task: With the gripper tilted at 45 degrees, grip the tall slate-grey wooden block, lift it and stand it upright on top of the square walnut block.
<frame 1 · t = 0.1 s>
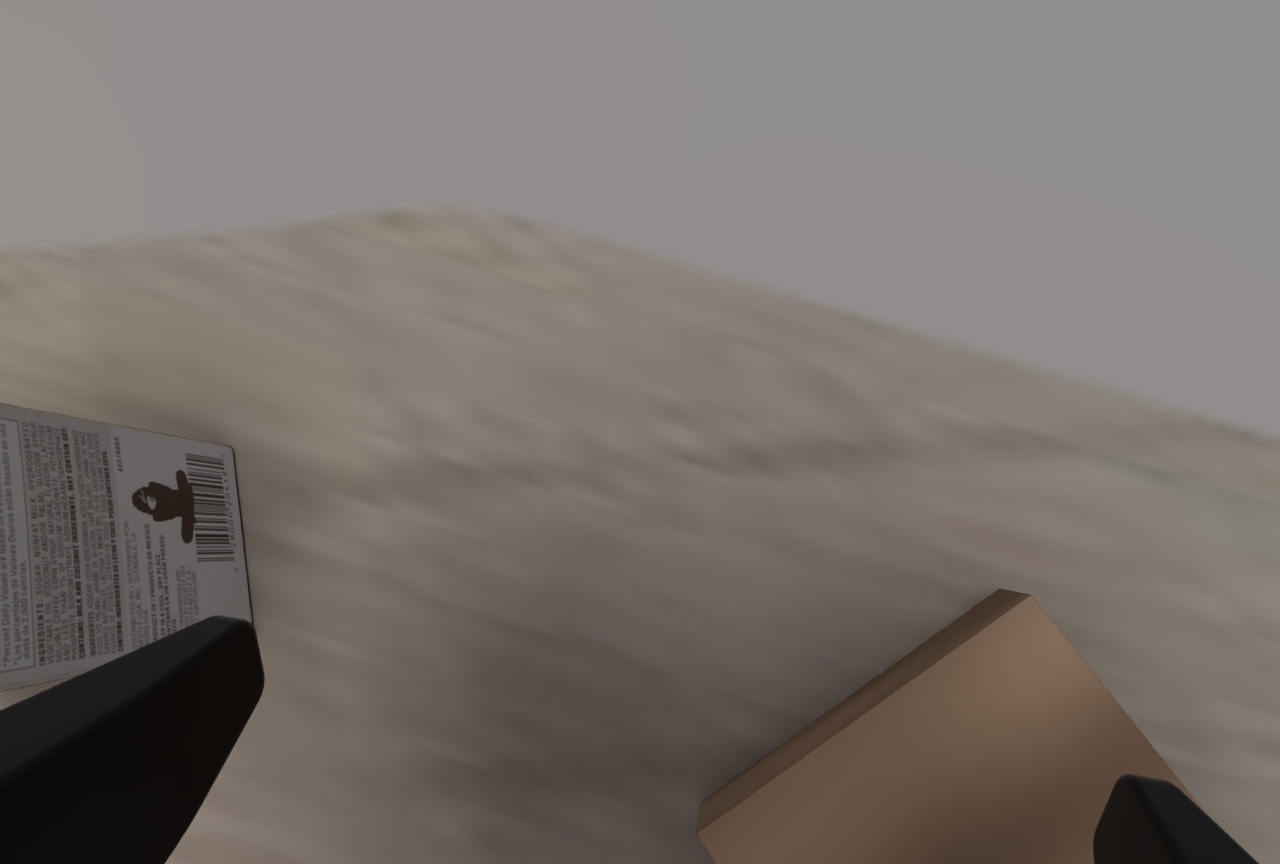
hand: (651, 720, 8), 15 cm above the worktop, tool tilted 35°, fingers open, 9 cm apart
walnut block: (964, 852, 22), on the worktop
coffee box: (120, 562, 26), on the worktop
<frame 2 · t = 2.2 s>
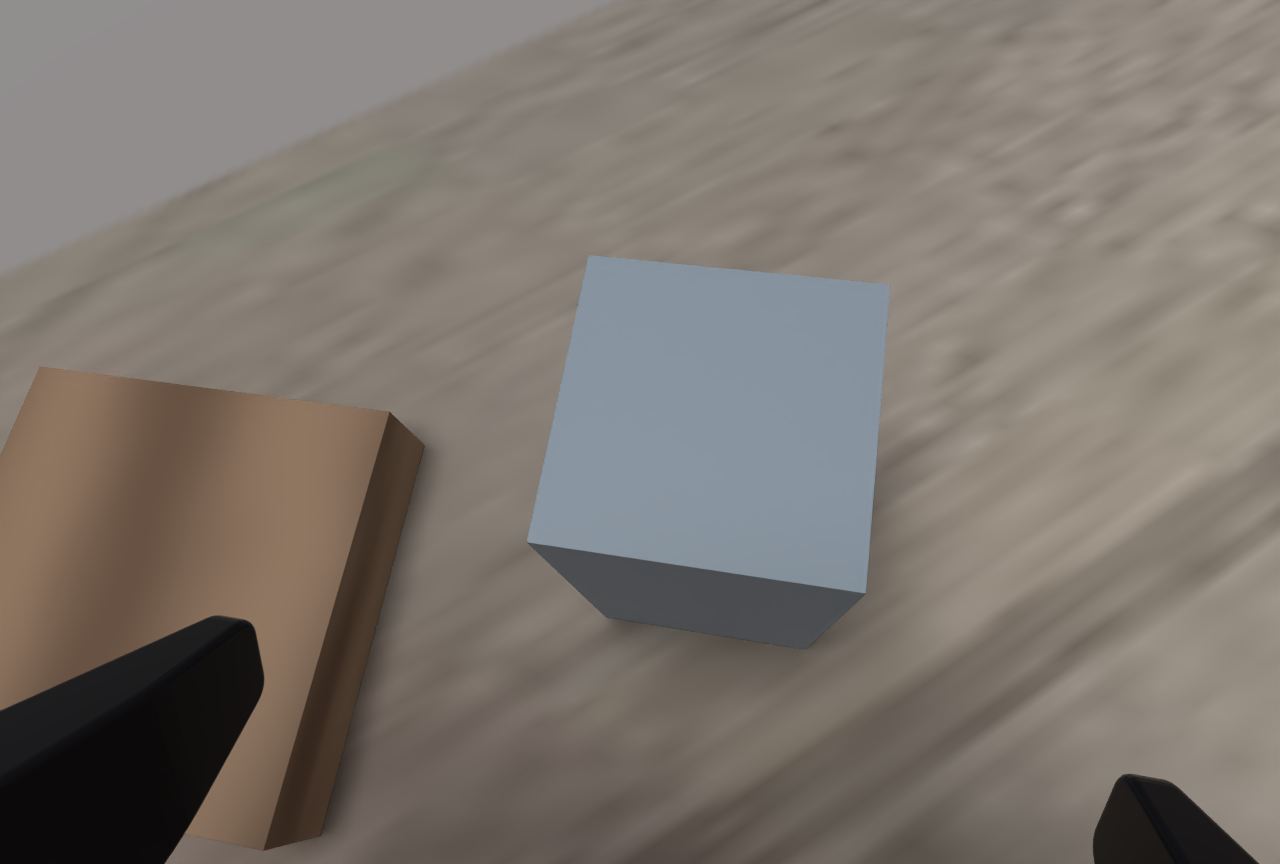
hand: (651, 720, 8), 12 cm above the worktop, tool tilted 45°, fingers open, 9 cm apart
walnut block: (211, 598, 22), on the worktop
slate block: (717, 535, 21), on the worktop
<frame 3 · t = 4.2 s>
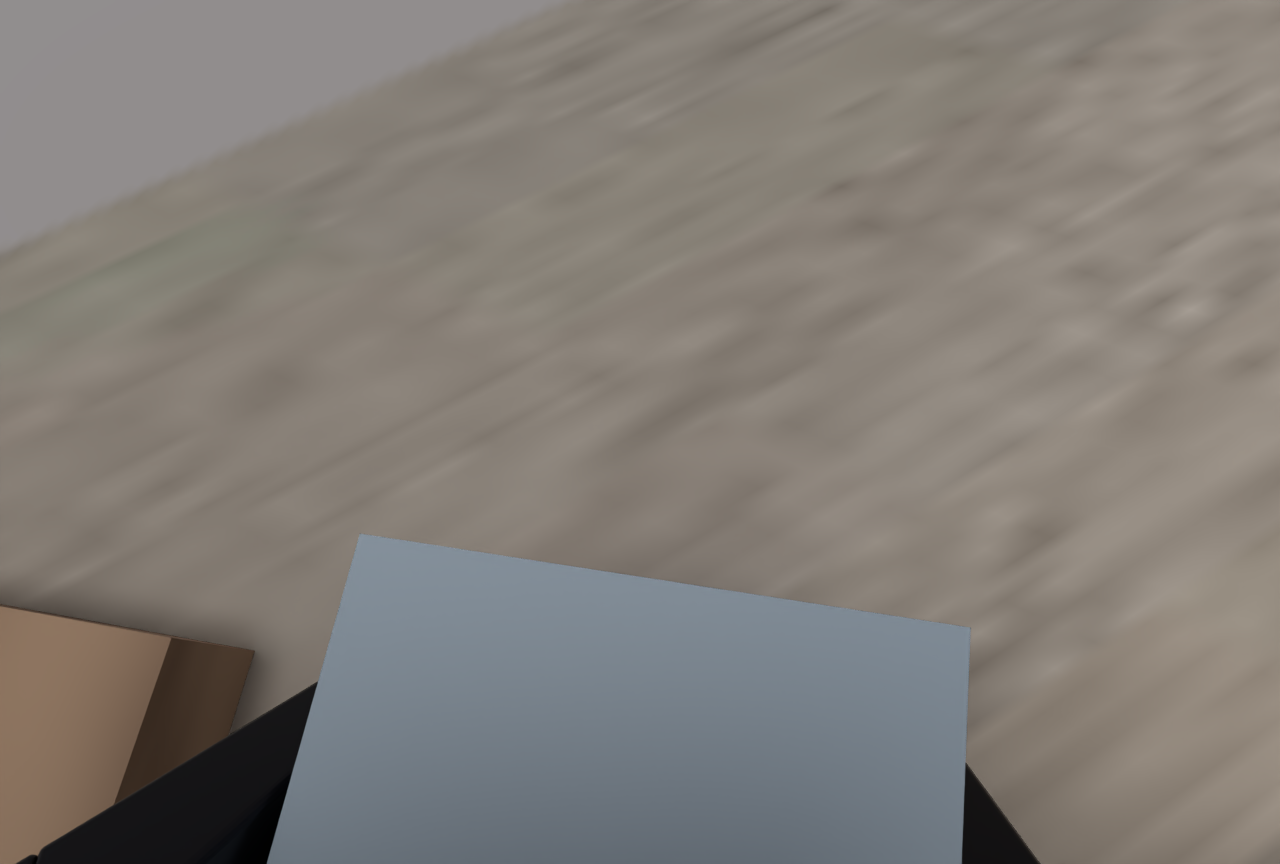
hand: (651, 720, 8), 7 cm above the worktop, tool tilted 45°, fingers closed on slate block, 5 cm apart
slate block: (669, 807, 14), on the worktop, touching gripper
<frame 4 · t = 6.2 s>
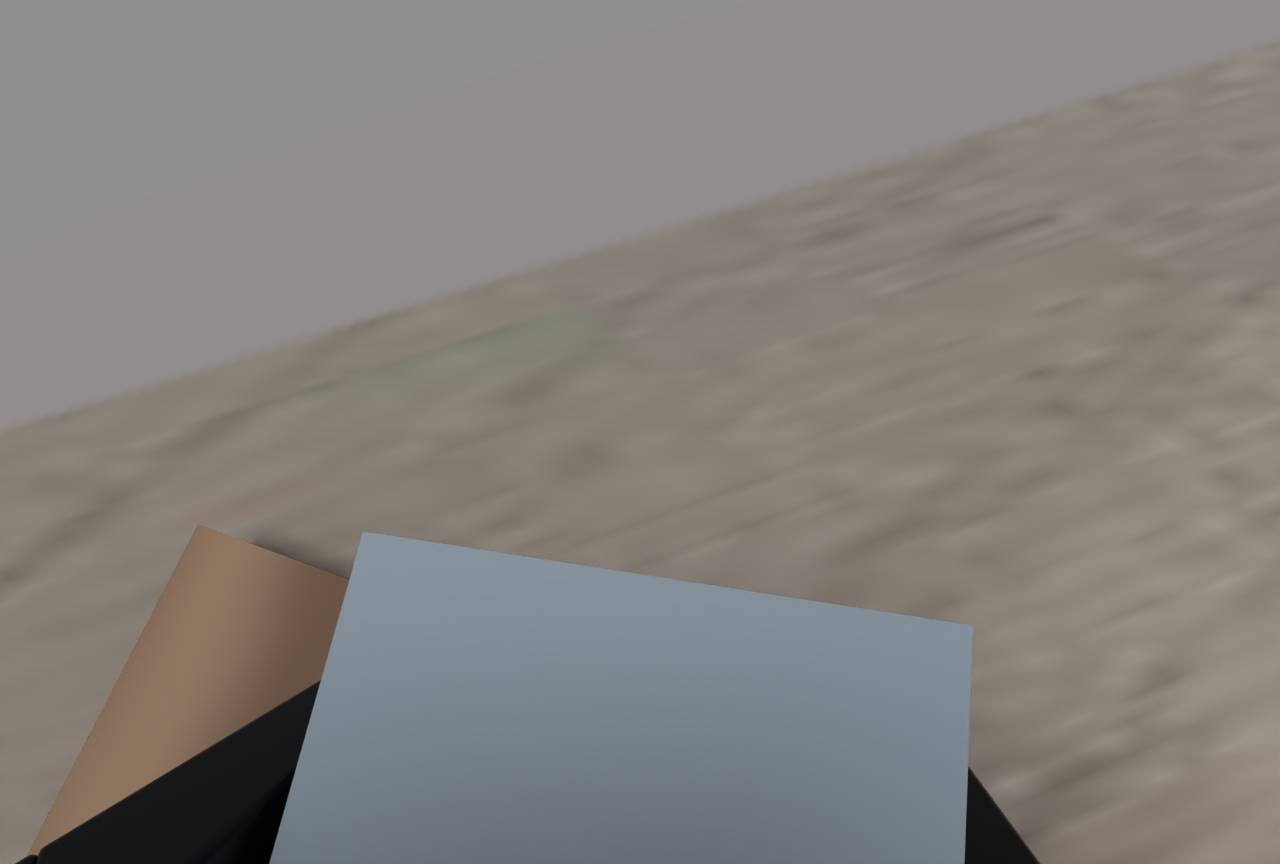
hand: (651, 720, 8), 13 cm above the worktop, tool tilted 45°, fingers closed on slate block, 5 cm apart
walnut block: (331, 780, 22), on the worktop
slate block: (671, 806, 14), point 7 cm above the worktop, touching gripper
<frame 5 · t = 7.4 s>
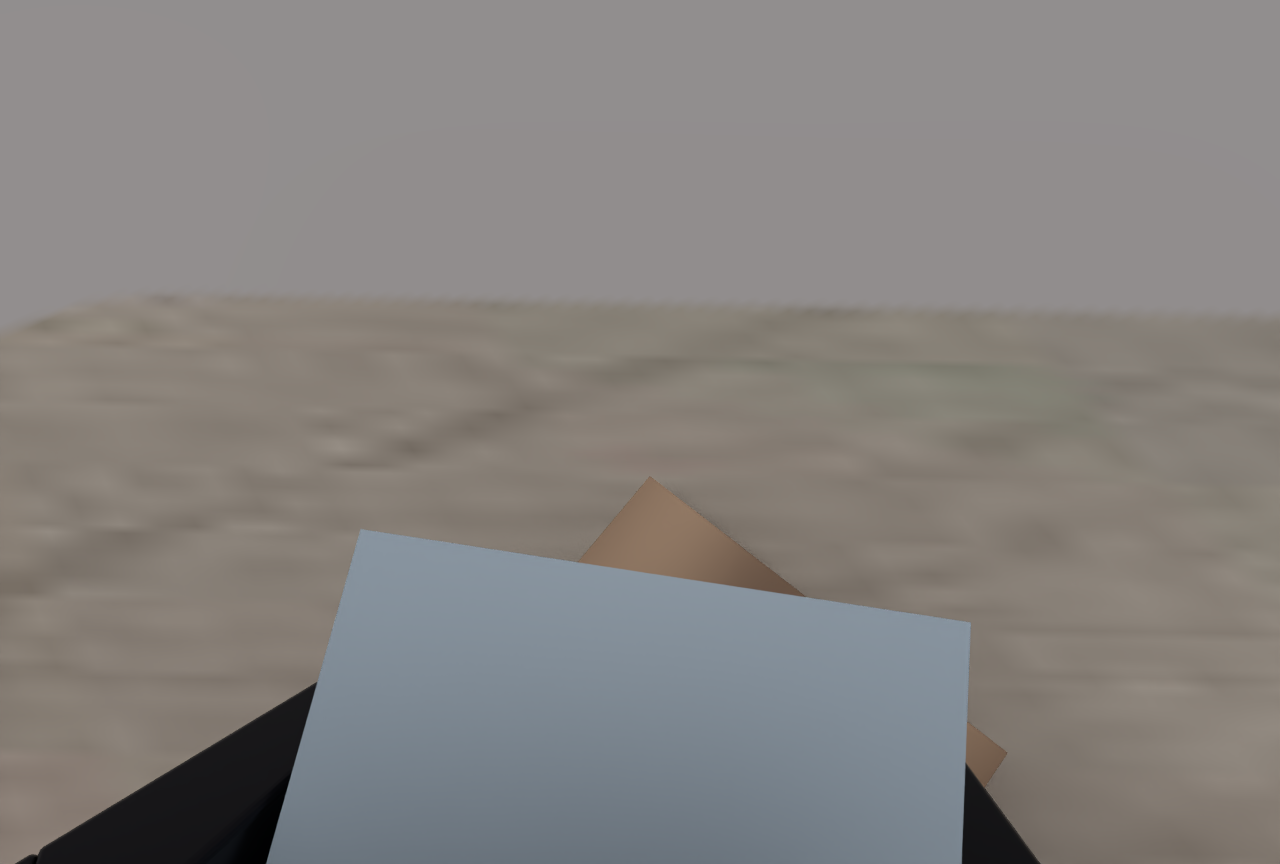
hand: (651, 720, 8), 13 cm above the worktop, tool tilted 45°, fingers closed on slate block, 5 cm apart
walnut block: (686, 774, 21), on the worktop
slate block: (670, 805, 14), point 7 cm above the worktop, touching gripper
when the fingers open (10 cm above the worktop, at t = 8.3 s): slate block drops 1 cm, resting on walnut block.
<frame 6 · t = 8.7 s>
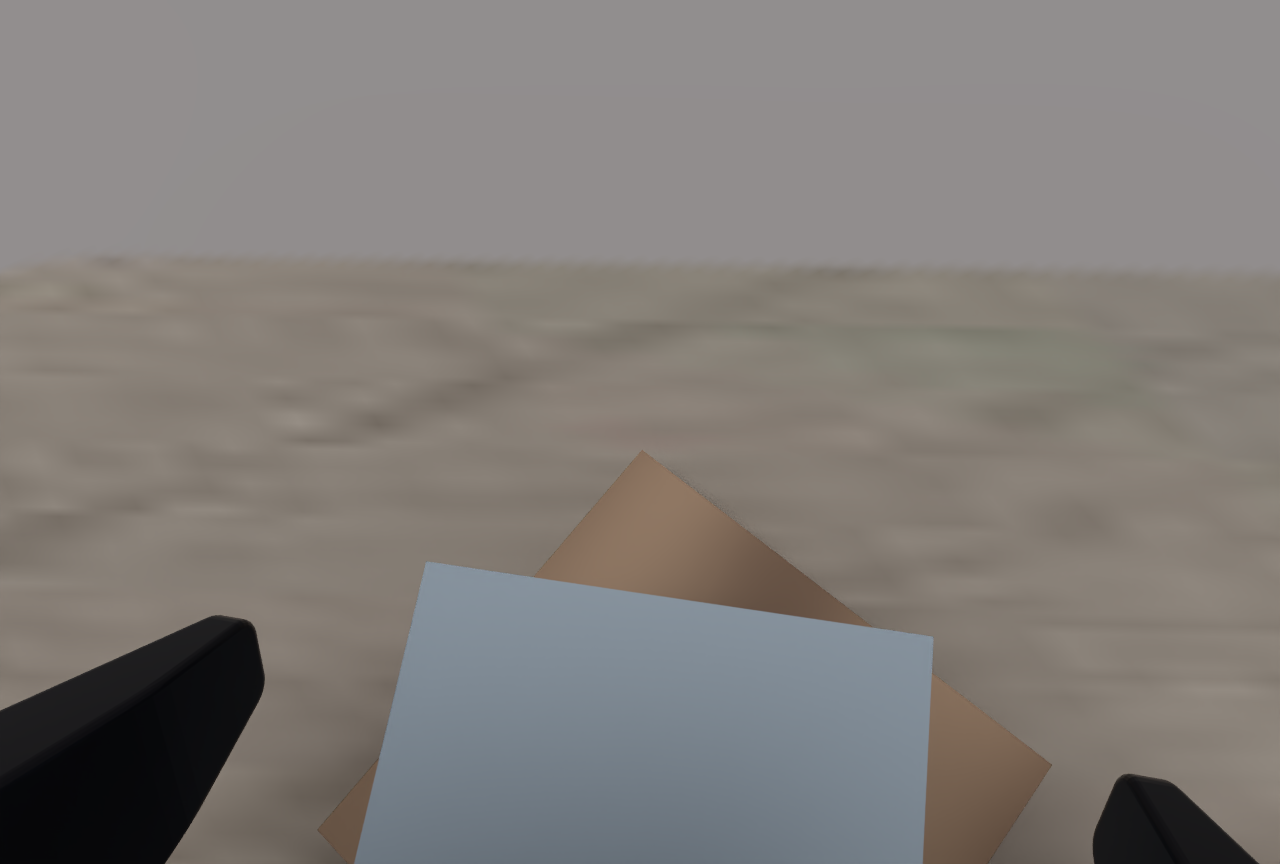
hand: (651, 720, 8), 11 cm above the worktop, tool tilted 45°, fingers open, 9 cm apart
walnut block: (682, 786, 19), on the worktop, touching slate block
slate block: (681, 789, 16), point 2 cm above the worktop, touching walnut block
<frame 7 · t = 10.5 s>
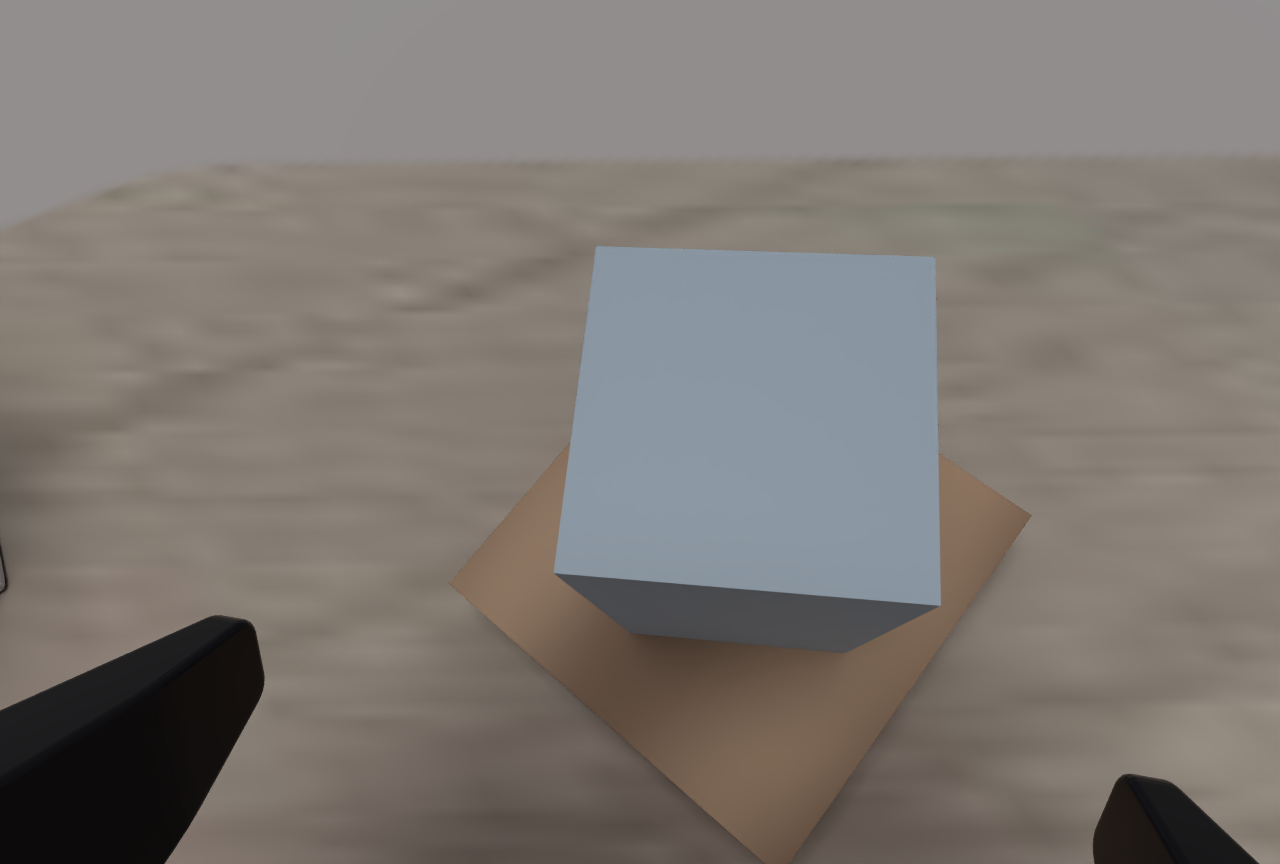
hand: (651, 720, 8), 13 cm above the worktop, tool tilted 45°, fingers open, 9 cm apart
walnut block: (732, 570, 23), on the worktop, touching slate block
slate block: (742, 537, 20), point 2 cm above the worktop, touching walnut block
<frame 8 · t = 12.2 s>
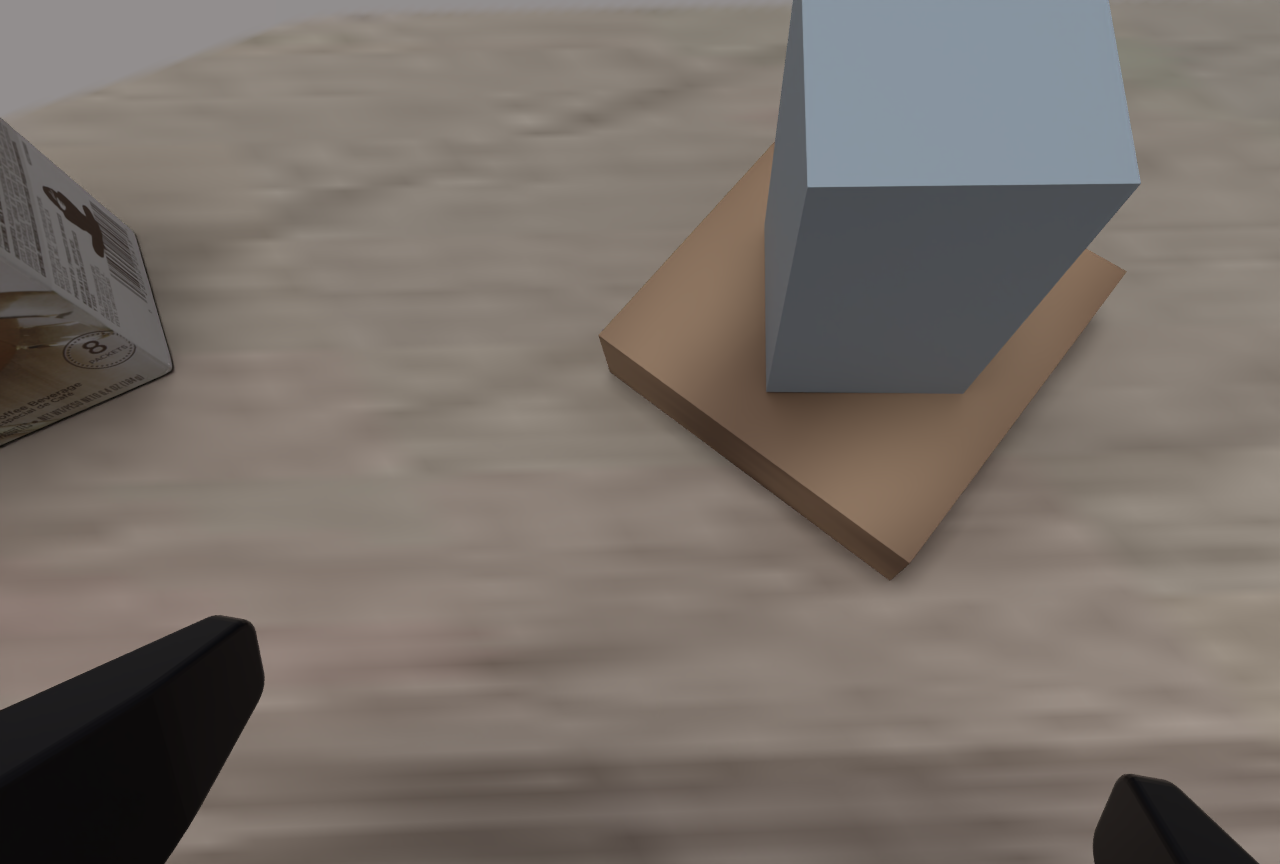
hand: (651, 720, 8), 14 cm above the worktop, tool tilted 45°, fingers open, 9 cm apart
walnut block: (842, 351, 25), on the worktop, touching slate block
slate block: (859, 305, 22), point 3 cm above the worktop, touching walnut block
coffee box: (36, 354, 27), on the worktop
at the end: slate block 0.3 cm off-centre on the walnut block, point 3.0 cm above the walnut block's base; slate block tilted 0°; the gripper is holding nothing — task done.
